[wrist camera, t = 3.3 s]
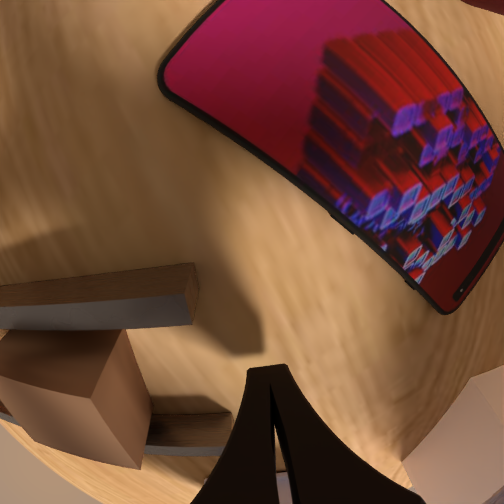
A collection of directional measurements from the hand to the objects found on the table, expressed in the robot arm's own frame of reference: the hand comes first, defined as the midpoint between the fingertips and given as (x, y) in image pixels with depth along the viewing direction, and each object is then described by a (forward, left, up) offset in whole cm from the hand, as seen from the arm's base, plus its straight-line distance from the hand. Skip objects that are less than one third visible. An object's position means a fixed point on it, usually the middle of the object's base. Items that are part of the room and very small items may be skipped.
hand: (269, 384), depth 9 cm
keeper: (+8, 0, -2) cm, 9 cm away
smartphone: (-6, -8, -2) cm, 10 cm away
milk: (-19, +14, -2) cm, 23 cm away
